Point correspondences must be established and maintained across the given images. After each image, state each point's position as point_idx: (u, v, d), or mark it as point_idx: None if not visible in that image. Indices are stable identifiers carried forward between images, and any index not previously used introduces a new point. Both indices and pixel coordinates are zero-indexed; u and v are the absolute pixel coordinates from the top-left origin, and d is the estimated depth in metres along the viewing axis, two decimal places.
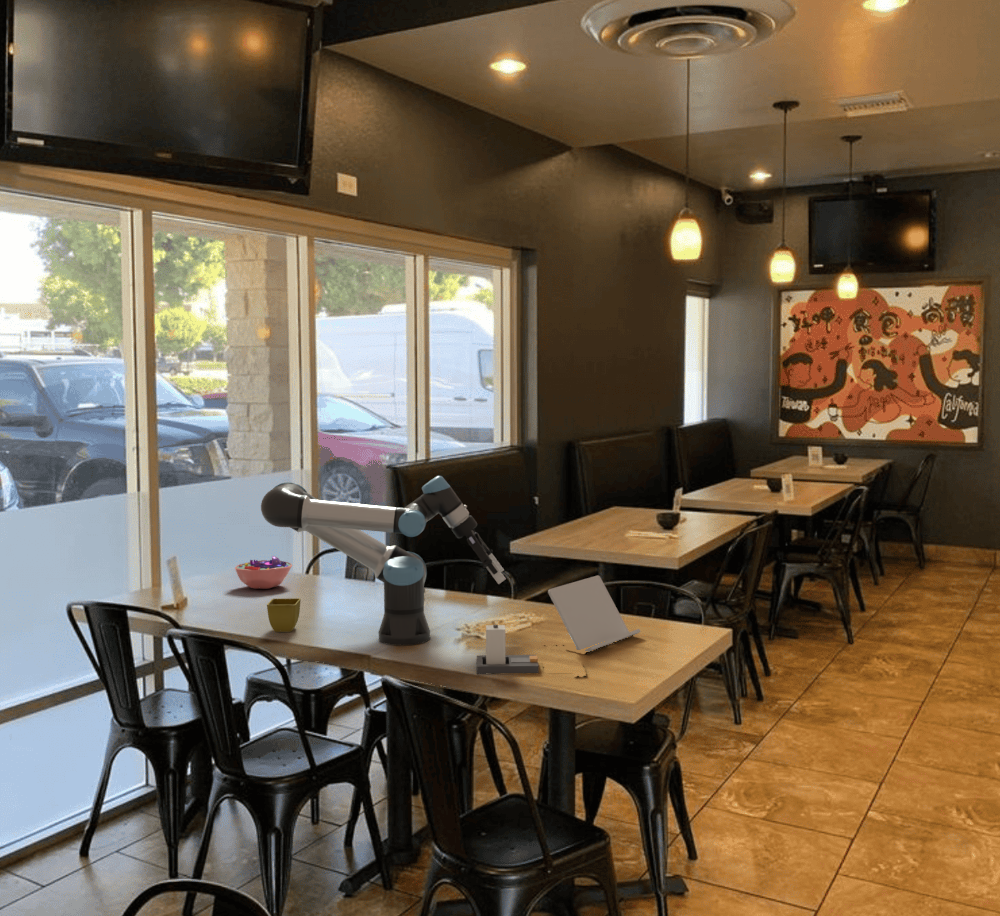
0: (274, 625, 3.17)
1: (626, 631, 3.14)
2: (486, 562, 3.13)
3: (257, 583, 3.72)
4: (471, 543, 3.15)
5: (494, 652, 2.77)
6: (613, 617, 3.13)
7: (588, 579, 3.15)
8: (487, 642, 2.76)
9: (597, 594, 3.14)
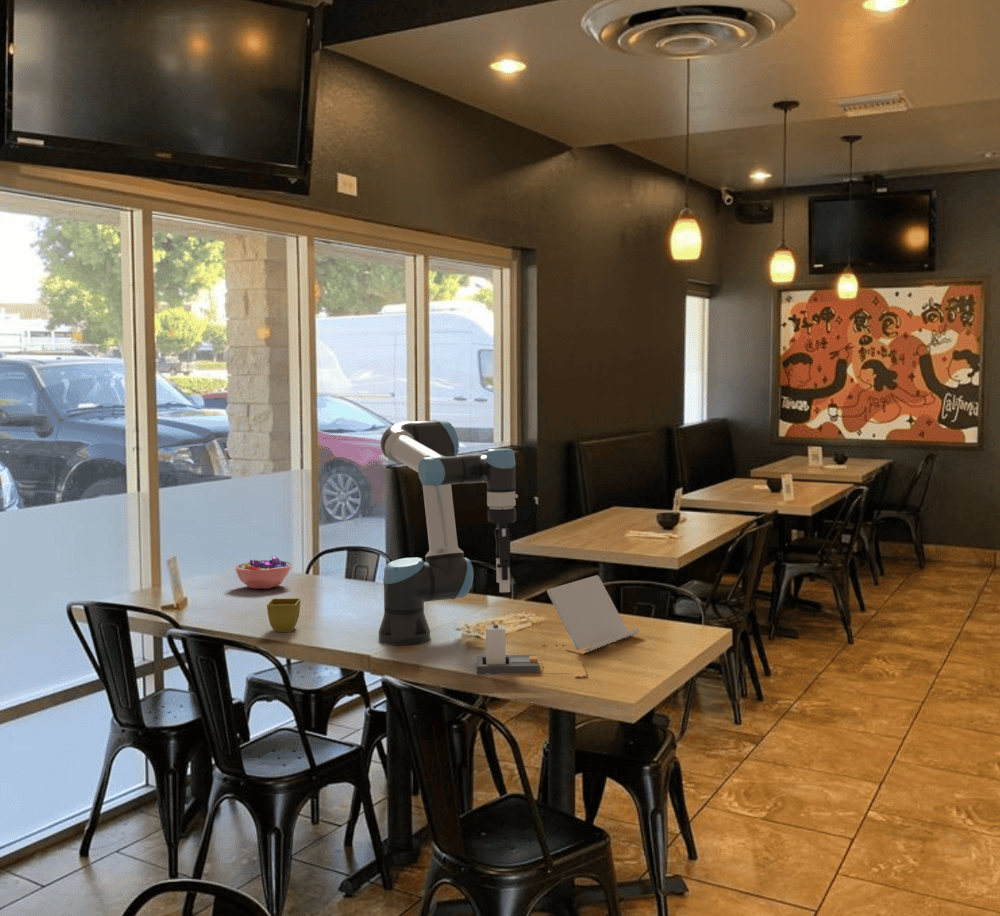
0: (274, 625, 3.17)
1: (625, 631, 3.14)
2: (504, 563, 2.69)
3: (257, 584, 3.72)
4: (501, 535, 2.72)
5: (494, 652, 2.77)
6: (612, 616, 3.14)
7: (587, 579, 3.16)
8: (487, 642, 2.76)
9: (596, 594, 3.15)
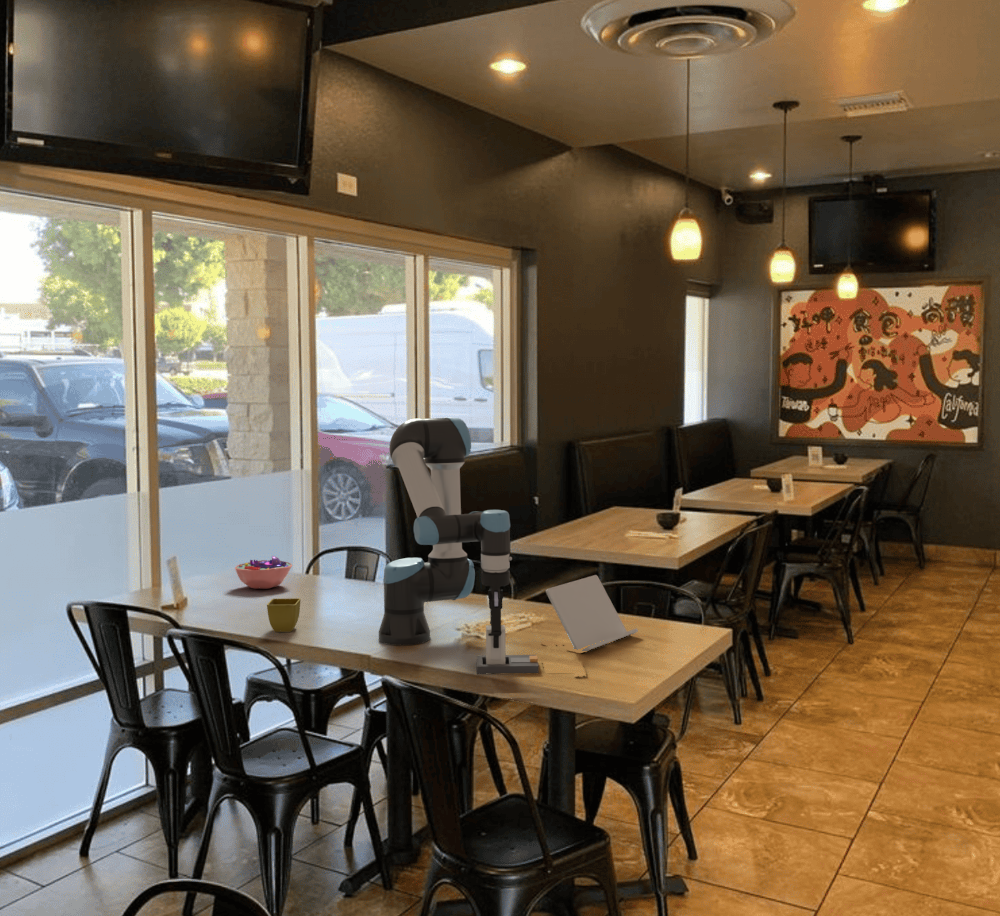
0: (274, 625, 3.17)
1: (624, 631, 3.14)
2: (495, 632, 2.72)
3: (257, 583, 3.72)
4: (493, 605, 2.71)
5: None
6: (610, 616, 3.14)
7: (586, 579, 3.16)
8: (487, 642, 2.76)
9: (595, 594, 3.15)
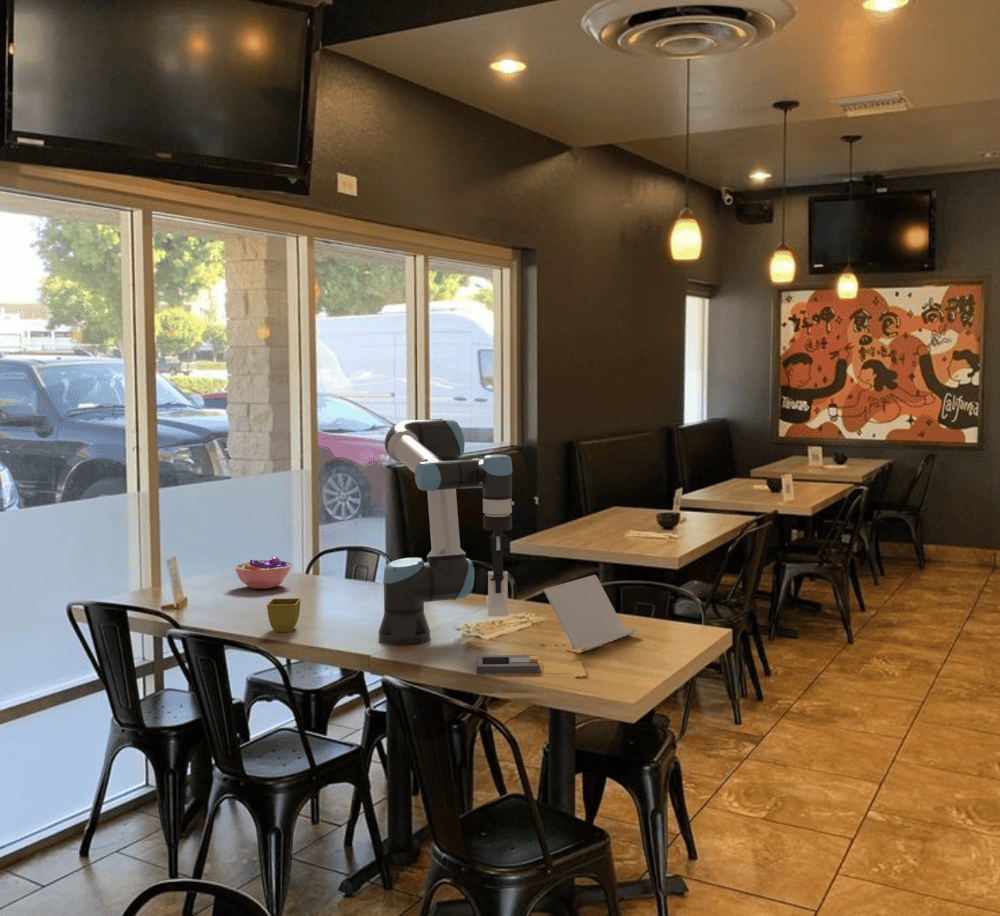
0: (274, 625, 3.17)
1: (622, 630, 3.14)
2: (497, 577, 2.71)
3: (257, 583, 3.72)
4: (495, 549, 2.70)
5: None
6: (609, 616, 3.14)
7: (585, 578, 3.16)
8: (489, 587, 2.75)
9: (594, 593, 3.15)
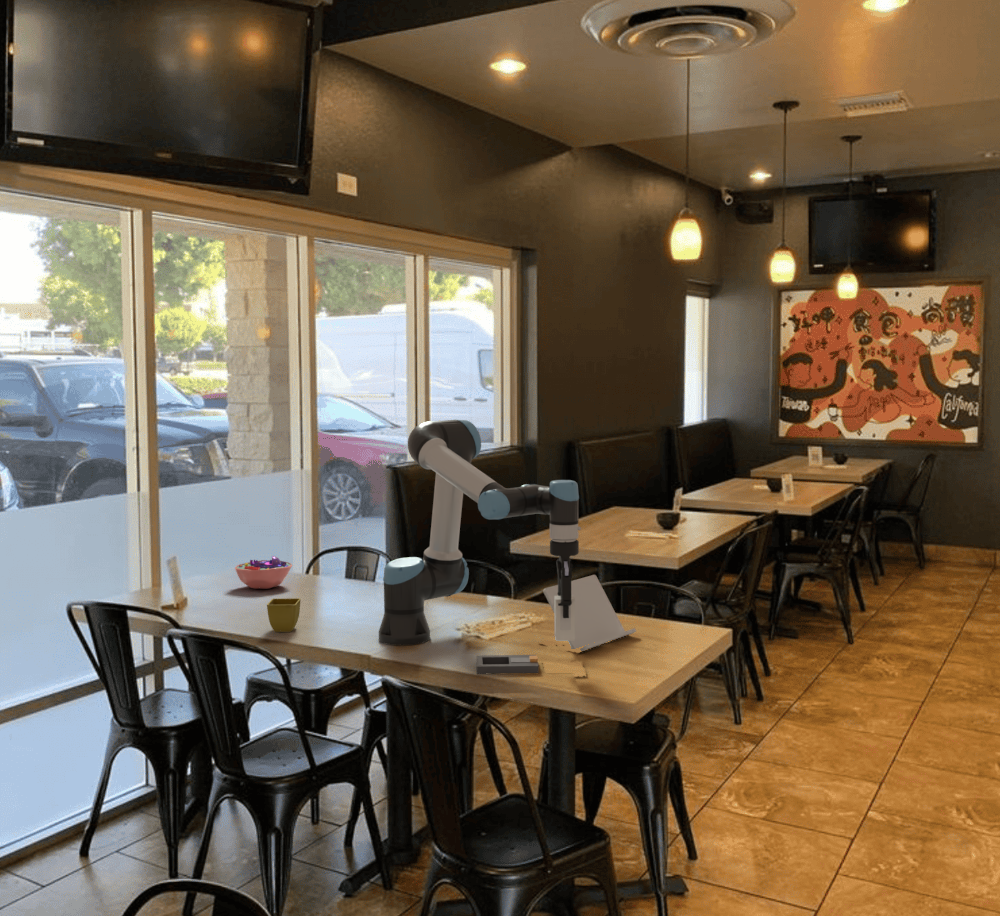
0: (274, 625, 3.17)
1: (622, 630, 3.15)
2: (566, 602, 2.72)
3: (257, 583, 3.72)
4: (564, 575, 2.71)
5: None
6: (608, 616, 3.14)
7: (584, 578, 3.16)
8: (556, 612, 2.76)
9: (593, 593, 3.15)
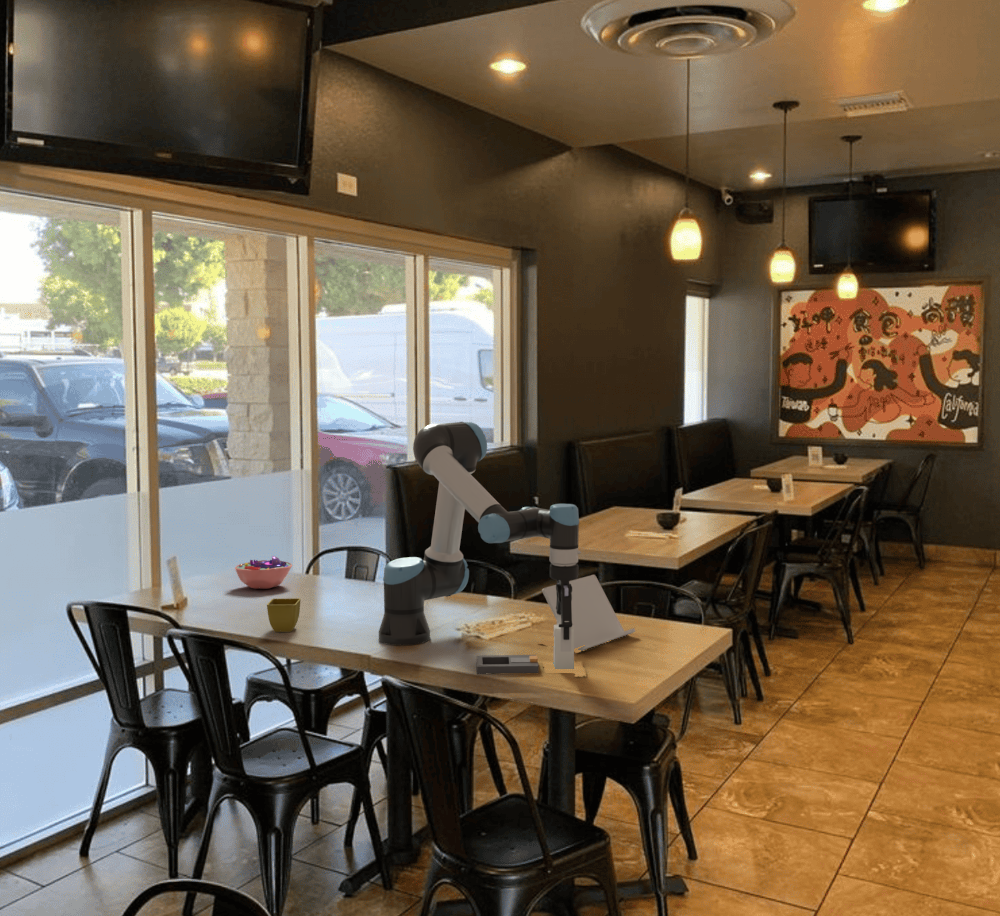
0: (274, 625, 3.17)
1: (621, 630, 3.15)
2: (566, 624, 2.69)
3: (257, 583, 3.72)
4: (563, 594, 2.71)
5: None
6: (608, 616, 3.14)
7: (583, 578, 3.16)
8: (556, 641, 2.77)
9: (592, 593, 3.15)
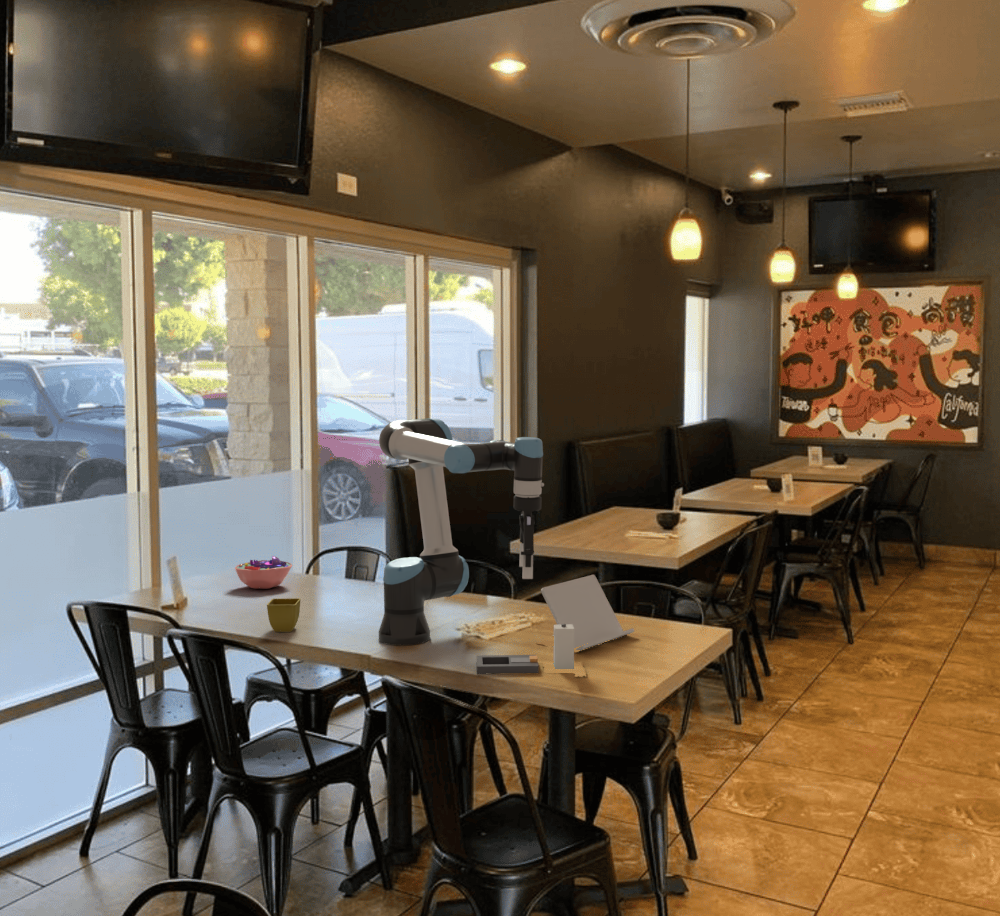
0: (274, 625, 3.17)
1: (620, 630, 3.15)
2: (528, 551, 2.75)
3: (257, 583, 3.72)
4: (526, 523, 2.77)
5: (563, 651, 2.77)
6: (607, 616, 3.14)
7: (583, 578, 3.17)
8: (556, 641, 2.77)
9: (591, 593, 3.15)
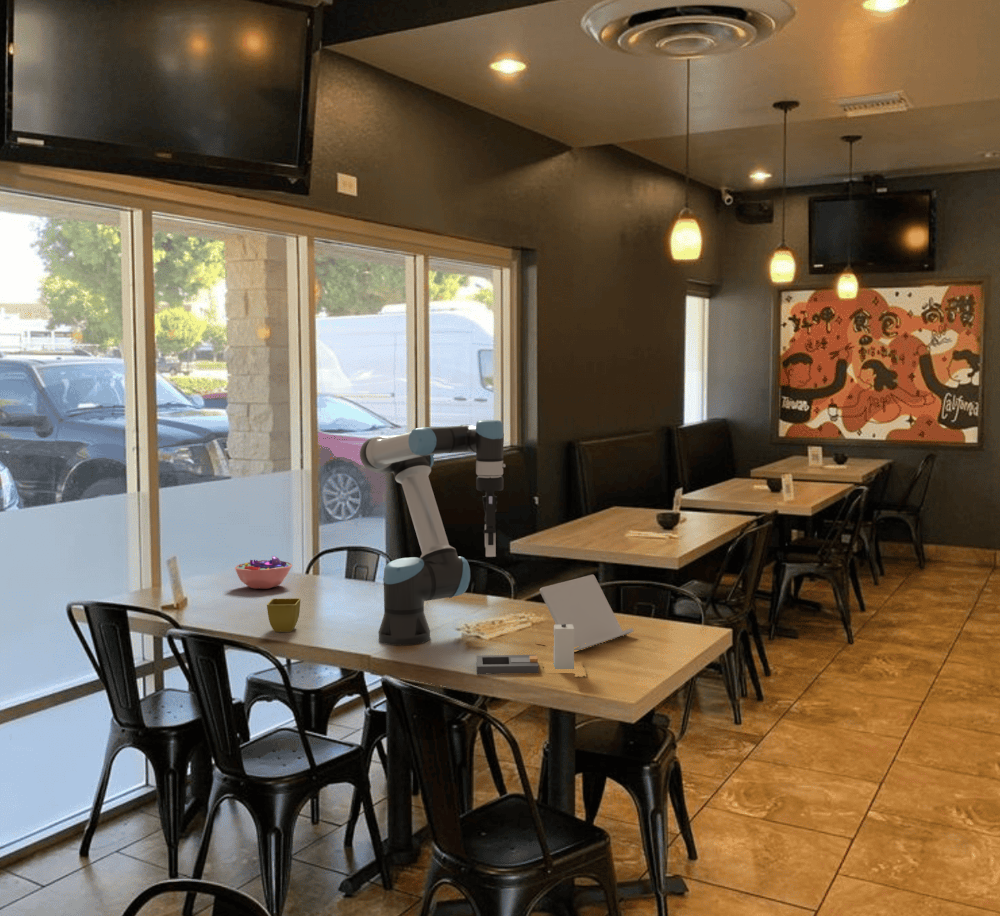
0: (274, 625, 3.17)
1: (619, 630, 3.15)
2: (490, 529, 2.83)
3: (257, 583, 3.72)
4: (488, 502, 2.86)
5: (563, 651, 2.77)
6: (606, 616, 3.14)
7: (582, 578, 3.17)
8: (556, 641, 2.77)
9: (591, 593, 3.16)
